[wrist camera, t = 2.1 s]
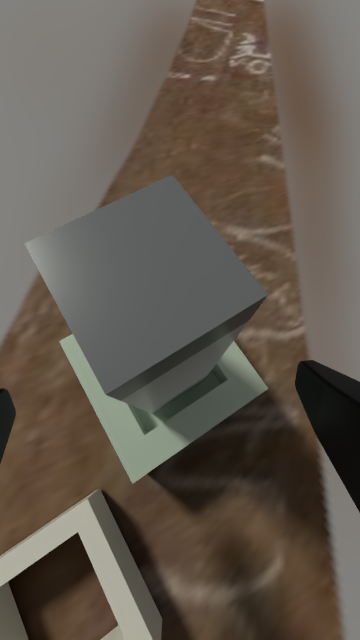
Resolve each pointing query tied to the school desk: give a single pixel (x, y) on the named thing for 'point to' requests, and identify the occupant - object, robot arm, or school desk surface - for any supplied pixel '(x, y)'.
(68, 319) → the plug
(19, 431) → the school desk surface
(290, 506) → the school desk surface
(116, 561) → the low collar
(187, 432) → the raised socket
